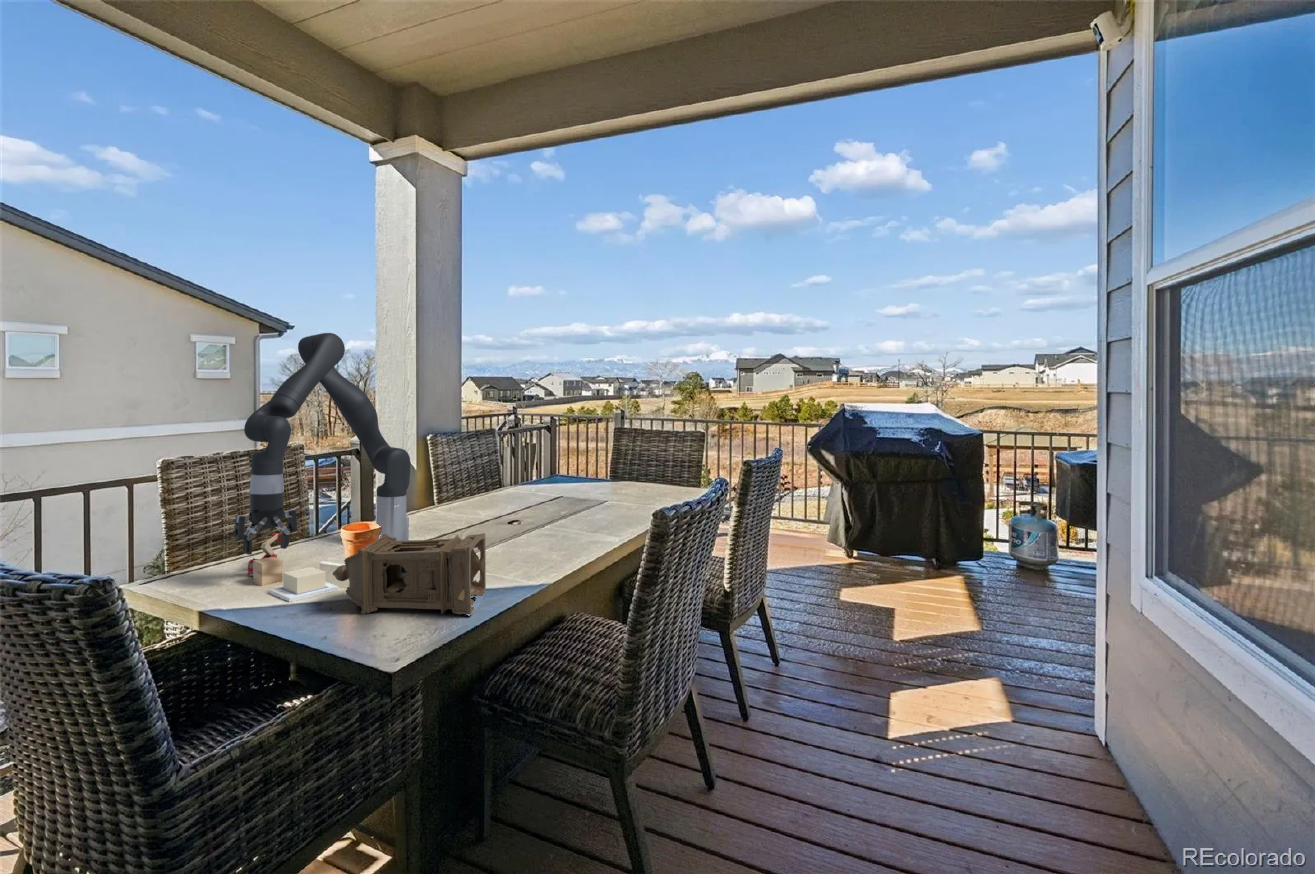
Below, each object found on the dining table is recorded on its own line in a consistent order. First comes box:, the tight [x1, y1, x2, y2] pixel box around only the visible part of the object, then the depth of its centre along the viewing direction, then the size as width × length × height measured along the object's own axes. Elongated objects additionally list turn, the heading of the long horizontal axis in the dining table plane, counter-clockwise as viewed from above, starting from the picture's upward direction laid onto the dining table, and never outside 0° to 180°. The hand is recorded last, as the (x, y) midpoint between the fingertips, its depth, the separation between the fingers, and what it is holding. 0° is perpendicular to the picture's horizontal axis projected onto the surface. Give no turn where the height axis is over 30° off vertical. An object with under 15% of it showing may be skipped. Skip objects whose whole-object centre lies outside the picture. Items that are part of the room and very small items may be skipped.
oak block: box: [252, 557, 284, 587], centre depth 161 cm, size 5×5×6 cm
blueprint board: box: [269, 566, 339, 603], centre depth 155 cm, size 12×10×5 cm
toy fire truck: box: [247, 532, 282, 577], centre depth 171 cm, size 3×14×10 cm, turn 179°
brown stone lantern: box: [332, 532, 487, 615], centre depth 148 cm, size 35×18×18 cm, turn 92°
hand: (266, 551), depth 161 cm, fingers open, 8 cm apart
